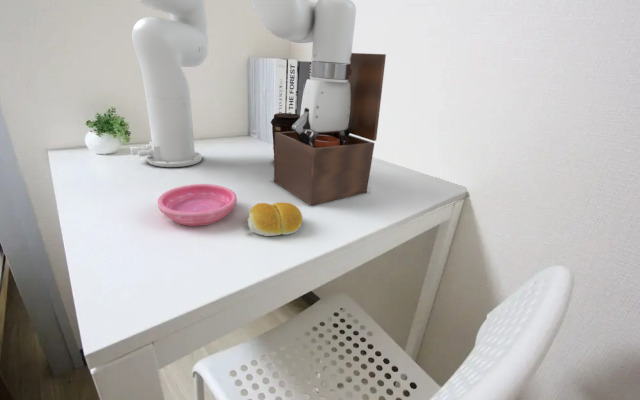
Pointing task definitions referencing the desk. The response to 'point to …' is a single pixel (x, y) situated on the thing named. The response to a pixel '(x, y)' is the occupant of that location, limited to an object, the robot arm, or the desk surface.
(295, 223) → the bread roll
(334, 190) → the chest
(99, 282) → the desk surface
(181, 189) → the saucer
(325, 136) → the tumbler
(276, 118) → the coffee cup
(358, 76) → the lid
